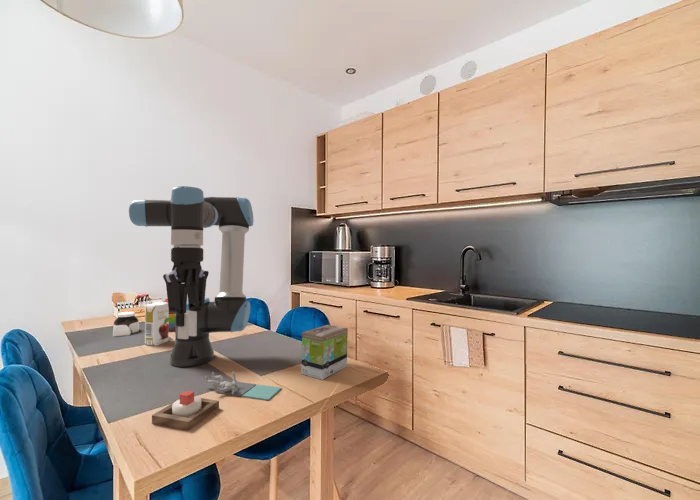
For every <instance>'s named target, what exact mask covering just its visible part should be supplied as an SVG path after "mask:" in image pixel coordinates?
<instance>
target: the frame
mask: <svg viewBox="0 0 700 500" xmlns="http://www.w3.org/2000/svg"><path fill="white" fill-rule="evenodd" d="M200 398H201V409H200V410H199V411H197V412H196V413H194V414H193V415H191V416H190V417H188V418H187V417H181V416H175V415H172V404H173V403H174V402H172V403H171V404H169V405H167V406H166V407H164V408H162V409H161V410H159V411H157V412H155V413H153V414H152V415H151V424H152V425H153V424H155V425H159V426H165V427H169V428H175V429H180V430H186V431H189V430H191V429H192V428H194V427H195V426H196V425H197V424H199V423H200V422H202V421H204V420H205V419H206V418H207V417H209V416H210V415H211V414H213V413H214V412H215V411H217V410H218V409H220V400H217V399H210V398H204V397H200Z"/></svg>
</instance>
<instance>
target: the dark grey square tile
mask: <svg viewBox="0 0 700 500" xmlns="http://www.w3.org/2000/svg"><path fill="white" fill-rule="evenodd" d="M230 383H233V380H232V381H230ZM236 385H237V387H238V389H239V390H238V391H237V392H236V393H234V394H233V395H232V391H231V390H230V391H227V392H220V391H218V390H217V391H216V394H221V395H228V396H234V397H240V398H241V397H243V395H244V394H245V393H247V392H248V391H249V390H251V389H252V388H253V387H255V386H256V385H257V384H255V383H252V382H251V383H249V382H242V381H236Z"/></svg>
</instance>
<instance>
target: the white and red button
mask: <svg viewBox="0 0 700 500" xmlns="http://www.w3.org/2000/svg"><path fill="white" fill-rule="evenodd" d="M201 398H202V397H199V396H195V391H193V390H192V391H191V390H185V391H184V392H181V393H180V394H179V399H177V400H176V401H174V402H172V403H173V404H172V403H171V404H172V415H175V416H181V417H187V418H188V417H190V416H191V415H193V414H194V413H196V412H197V411H199V410H200V409H201Z"/></svg>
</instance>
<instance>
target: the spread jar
mask: <svg viewBox="0 0 700 500" xmlns="http://www.w3.org/2000/svg"><path fill="white" fill-rule="evenodd" d="M135 313H136V312H135V311H122V312H118V314H117V318H116V319H115V320H114V321H113V326H112V327H113V328H112V329H113V331H112V337H113V338H115V337H120V336H121V337H122V336H123V337H124V336H130V335H131V334H133V333H137V332H139V331H140V330H139V329H140V320H139V318H138V317H137V316H135Z"/></svg>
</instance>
